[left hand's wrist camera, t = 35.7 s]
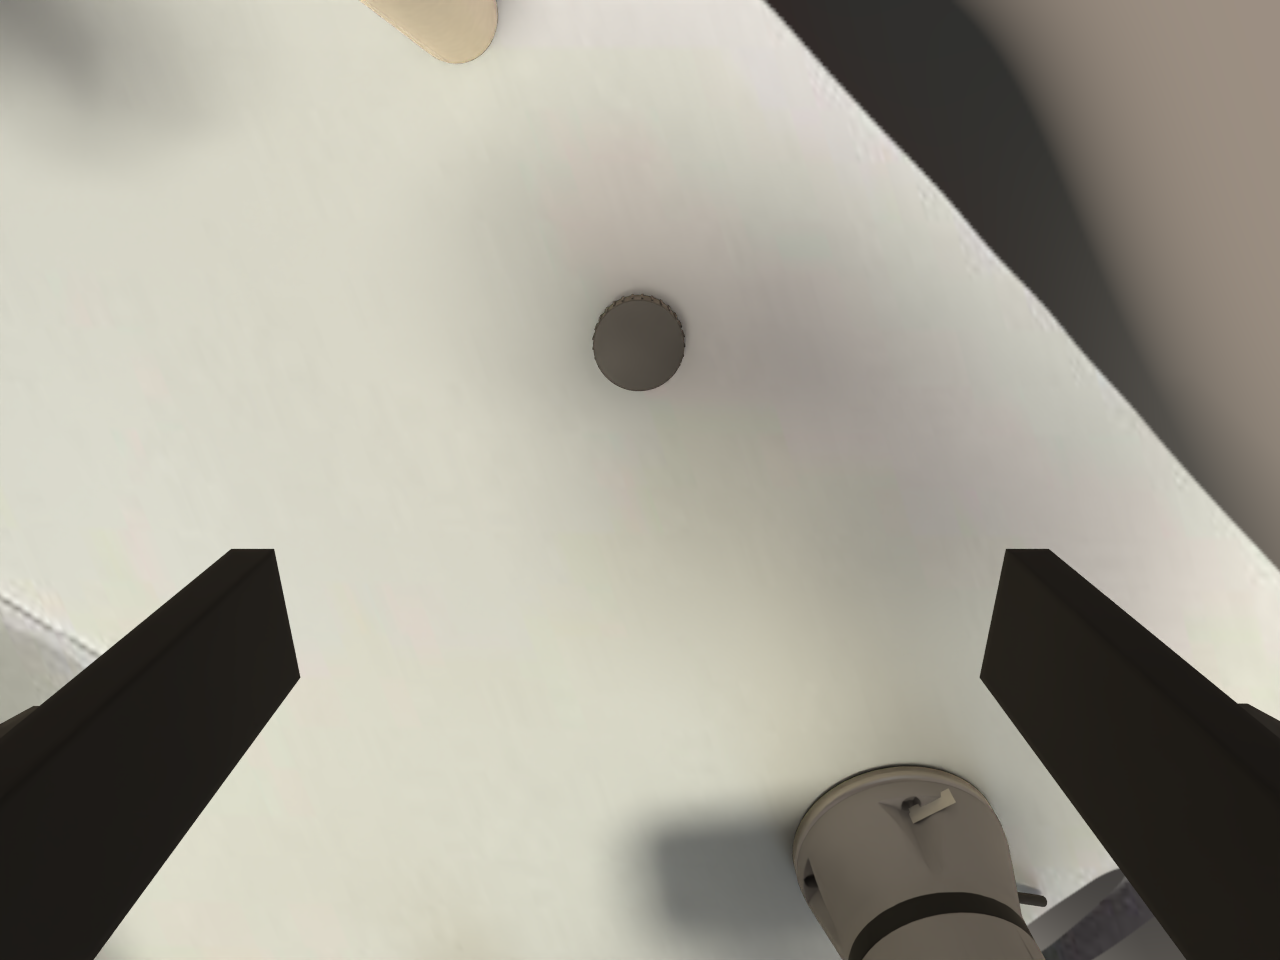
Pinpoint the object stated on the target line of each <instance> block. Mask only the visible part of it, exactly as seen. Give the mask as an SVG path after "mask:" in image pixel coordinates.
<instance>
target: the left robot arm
mask: <svg viewBox="0 0 1280 960" xmlns="http://www.w3.org/2000/svg"><path fill="white" fill-rule="evenodd" d="M299 679H300V673H299V669H298V664H297V659H296V654H295V649H294V644H293V639H292V634H291V629H290V625H289V620H288V615H287V610H286V605H285V600H284V595H283V590H282V585H281V581H280V576H279V571H278V566H277V561H276V556H275V551H274V549H231V550H229V551H228V552H227V553H226V554H225V555H223V556H222V557H221V558H220V559H219V560H217V561H216V562H215V563H214V564H212V565H211V566H210V567H209V568H208V569H206V570H205V571H204V572H203V573H201V574H200V575H199V576H198V577H197V578H195V579H194V580H193V581H192V582H190V583H189V584H188V585H187V586H186V587H184V588H183V589H182V590H181V591H179V592H178V593H177V594H176V595H175V596H173V597H172V598H171V599H170V600H168V601H167V602H166V603H165V604H164V605H162V606H161V607H160V608H159V609H157V610H156V611H155V612H154V613H153V614H151V615H150V616H149V617H148V618H147V619H145V620H144V621H143V622H142V623H140V624H139V625H138V626H137V627H136V628H134V629H133V630H132V631H131V632H129V633H128V634H127V635H126V636H125V637H123V638H122V639H121V640H120V641H118V642H117V643H116V644H115V645H114V646H112V647H111V648H110V649H109V650H107V651H106V652H105V653H104V654H103V655H101V656H100V657H99V658H98V659H96V660H95V661H94V662H93V663H92V664H90V665H89V666H88V667H87V668H85V669H84V670H83V671H82V672H81V673H79V674H78V675H77V676H76V677H74V678H73V679H72V680H71V681H70V682H68V683H67V684H66V685H65V686H64V687H62V688H61V689H60V690H59V691H57V692H56V693H55V694H54V695H53V696H51V697H50V698H49V699H48V700H46V701H45V702H44V703H43V704H42V705H40V706H33V707H31V708H29V709H27V710H25V711H23V712H22V713H20V714H18V715H16V716H14V717H12V718H11V719H9V720H7V721H5V722H3V723H1V724H0V960H94V958H95V957H96V956H97V954H98V953H99V951H100V950H101V949H102V947H103V946H104V945H105V943H106V942H107V941H108V939H109V938H110V936H111V935H112V934H113V932H114V931H115V930H116V928H117V927H118V926H119V924H120V923H121V921H122V920H123V919H124V917H125V916H126V915H127V913H128V912H129V911H130V909H131V908H132V906H133V905H134V904H135V902H136V901H137V900H138V898H139V897H140V896H141V894H142V893H143V891H144V890H145V889H146V887H147V886H148V885H149V883H150V882H151V881H152V879H153V878H154V876H155V875H156V874H157V872H158V871H159V870H160V868H161V867H162V866H163V864H164V863H165V861H166V860H167V859H168V857H169V856H170V855H171V853H172V852H173V851H174V849H175V848H176V846H177V845H178V844H179V842H180V841H181V840H182V838H183V837H184V836H185V834H186V833H187V831H188V830H189V829H190V827H191V826H192V825H193V823H194V822H195V821H196V819H197V818H198V816H199V815H200V814H201V812H202V811H203V810H204V808H205V807H206V806H207V804H208V803H209V801H210V800H211V799H212V797H213V796H214V795H215V793H216V792H217V790H218V789H219V788H220V786H221V785H222V784H223V782H224V781H225V780H226V778H227V777H228V775H229V774H230V773H231V771H232V770H233V769H234V767H235V766H236V765H237V763H238V762H239V760H240V759H241V758H242V756H243V755H244V754H245V752H246V751H247V750H248V748H249V747H250V745H251V744H252V743H253V741H254V740H255V739H256V737H257V736H258V735H259V733H260V732H261V730H262V729H263V728H264V726H265V725H266V724H267V722H268V721H269V720H270V718H271V717H272V715H273V714H274V713H275V711H276V710H277V709H278V707H279V706H280V705H281V703H282V702H283V700H284V699H285V698H286V696H287V695H288V694H289V692H290V691H291V690H292V688H293V687H294V685H295V684H296V683H297V681H298V680H299ZM980 679H981V680H982V681H983V683H984V684H985V685H986V687H987V688H988V690H989V691H990V692H991V694H992V695H993V696H994V698H995V699H996V700H997V702H998V703H999V705H1000V706H1001V707H1002V709H1003V710H1004V711H1005V713H1006V714H1007V715H1008V717H1009V718H1010V720H1011V721H1012V722H1013V724H1014V725H1015V726H1016V728H1017V729H1018V730H1019V732H1020V733H1021V735H1022V736H1023V737H1024V739H1025V740H1026V741H1027V743H1028V744H1029V745H1030V747H1031V748H1032V750H1033V751H1034V752H1035V754H1036V755H1037V756H1038V758H1039V759H1040V760H1041V762H1042V763H1043V765H1044V766H1045V767H1046V769H1047V770H1048V771H1049V773H1050V774H1051V775H1052V777H1053V778H1054V780H1055V781H1056V782H1057V784H1058V785H1059V786H1060V788H1061V789H1062V790H1063V792H1064V793H1065V795H1066V796H1067V797H1068V799H1069V800H1070V801H1071V803H1072V804H1073V806H1074V807H1075V808H1076V810H1077V811H1078V812H1079V814H1080V815H1081V816H1082V818H1083V819H1084V821H1085V822H1086V823H1087V825H1088V826H1089V827H1090V829H1091V830H1092V831H1093V833H1094V834H1095V836H1096V837H1097V838H1098V840H1099V841H1100V842H1101V844H1102V845H1103V846H1104V848H1105V849H1106V851H1107V852H1108V853H1109V855H1110V856H1111V857H1112V859H1113V860H1114V861H1115V863H1116V864H1117V866H1118V867H1119V868H1120V870H1121V871H1122V872H1123V874H1124V875H1125V876H1126V878H1127V879H1128V881H1129V882H1130V883H1131V885H1132V886H1133V887H1134V889H1135V890H1136V891H1137V893H1138V894H1139V896H1140V897H1141V898H1142V900H1143V901H1144V902H1145V904H1146V905H1147V906H1148V908H1149V909H1150V911H1151V912H1152V913H1153V915H1154V916H1155V917H1156V919H1157V920H1158V921H1159V923H1160V924H1161V925H1162V927H1163V928H1164V930H1165V931H1166V932H1167V934H1168V935H1169V936H1170V938H1171V939H1172V941H1173V942H1174V943H1175V945H1176V946H1177V947H1178V949H1179V950H1180V951H1181V953H1182V954H1183V956H1184V957H1185V958H1186V960H1280V721H1279V720H1277V719H1275V718H1273V717H1271V716H1269V715H1268V714H1266V713H1264V712H1262V711H1260V710H1258V709H1256V708H1255V707H1253V706H1251V705H1249V704H1237V703H1236V702H1235V701H1234V700H1232V699H1231V698H1230V697H1229V696H1227V695H1226V694H1225V693H1224V692H1223V691H1221V690H1220V689H1219V688H1218V687H1216V686H1215V685H1214V684H1213V683H1212V682H1210V681H1209V680H1208V679H1207V678H1206V677H1204V676H1203V675H1202V674H1201V673H1199V672H1198V671H1197V670H1196V669H1195V668H1193V667H1192V666H1191V665H1190V664H1188V663H1187V662H1186V661H1185V660H1184V659H1182V658H1181V657H1180V656H1179V655H1177V654H1176V653H1175V652H1174V651H1173V650H1171V649H1170V648H1169V647H1168V646H1166V645H1165V644H1164V643H1163V642H1162V641H1160V640H1159V639H1158V638H1157V637H1155V636H1154V635H1153V634H1152V633H1151V632H1149V631H1148V630H1147V629H1146V628H1144V627H1143V626H1142V625H1141V624H1140V623H1138V622H1137V621H1136V620H1135V619H1133V618H1132V617H1131V616H1130V615H1129V614H1127V613H1126V612H1125V611H1124V610H1123V609H1121V608H1120V607H1119V606H1118V605H1116V604H1115V603H1114V602H1113V601H1112V600H1110V599H1109V598H1108V597H1107V596H1105V595H1104V594H1103V593H1102V592H1101V591H1099V590H1098V589H1097V588H1096V587H1094V586H1093V585H1092V584H1091V583H1090V582H1088V581H1087V580H1086V579H1085V578H1083V577H1082V576H1081V575H1080V574H1079V573H1077V572H1076V571H1075V570H1074V569H1072V568H1071V567H1070V566H1069V565H1068V564H1066V563H1065V562H1064V561H1063V560H1061V559H1060V558H1059V557H1058V556H1057V555H1055V554H1054V553H1053V552H1052V551H1051V550H1049V549H1006V551H1005V556H1004V561H1003V566H1002V571H1001V576H1000V581H999V585H998V590H997V595H996V600H995V605H994V610H993V615H992V620H991V625H990V629H989V634H988V639H987V644H986V649H985V654H984V659H983V664H982V669H981V673H980ZM793 862H794V866H795V871H796V875H797V879H798V883H799V886H800V889H801V891H802V893H803V896H804V898H805V900H806V902H807V904H808V906H809V908H810V909H811V911H812V912H813V914H814V915H815V917H816V919H817V920H818V922H819V923H820V925H821V926H822V928H823V930H824V931H825V933H826V934H827V936H828V937H829V939H830V941H831V942H832V944H833V945H834V947H835V949H836V950H837V952H838V953H839V955H840V956H841V958H842V960H1045V958H1044V956H1043V954H1042V953H1041V951H1040V949H1039V947H1038V946H1037V944H1036V942H1035V940H1034V939H1033V937H1032V935H1031V933H1030V931H1029V929H1028V928H1027V926H1026V924H1025V922H1024V920H1023V918H1022V914H1021V909H1020V904H1027V905H1034V906H1041V907H1045V906H1046V905H1047V900H1046V898H1045V897H1044V896H1041V895H1034V894H1027V893H1021V892H1017V888H1016V882H1015V877H1014V872H1013V866H1012V861H1011V856H1010V850H1009V845H1008V842H1007V839H1006V836H1005V833H1004V831H1003V828H1002V825H1001V823H1000V821H999V820H998V818H997V816H996V814H995V813H994V811H993V809H992V808H991V806H990V804H989V803H988V801H987V800H986V798H985V797H984V796H983V795H982V794H981V793H980V792H979V791H978V790H977V789H976V788H975V787H974V786H972V785H971V784H969V783H968V782H966V781H965V780H963V779H961V778H959V777H957V776H955V775H952V774H950V773H947V772H944V771H941V770H937V769H932V768H926V767H915V766H900V767H890V768H884V769H878V770H874V771H870V772H867V773H864V774H861V775H858V776H856V777H853V778H851V779H849V780H847V781H845V782H843V783H841V784H839V785H838V786H836V787H834V788H833V789H831V790H830V791H829V792H827V793H826V794H825V795H823V796H822V797H821V798H820V799H819V800H818V801H817V802H816V803H815V804H814V805H813V806H812V807H811V808H810V809H809V811H808V812H807V813H806V815H805V816H804V818H803V819H802V821H801V823H800V825H799V827H798V829H797V832H796V835H795V838H794V843H793ZM1019 903H1020V904H1019Z"/></svg>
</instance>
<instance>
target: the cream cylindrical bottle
mask: <svg viewBox="0 0 1280 960" xmlns="http://www.w3.org/2000/svg"><path fill="white" fill-rule="evenodd" d="M359 1H361V2H362V3H363V4H364V5H366V6H367V7H368V8H370V9H371V10H372V11H374V12H375V13H376V14H378V15H379V16H380V17H382V18H383V19H384V20H386V21H387V22H388V23H389V24H391V25H392V26H393V27H395V28H396V29H397V30H399V31H400V32H401V33H403V34H404V35H405V36H407V37H408V38H409V39H410V40H412V41H413V42H414V43H416V44H417V45H418V46H420V47H421V48H422V49H424V50H425V51H426V52H428V53H429V54H430V55H432V56H433V57H435V58H437V59H438V60H441V61H444V62H447V63H455V64H457V63H465V62H469V61H471V60H473V59H475V58H477V57H478V56H480V55H481V54H482V53H483V52H484V51H485V50H486V49H487V47H488V46H489V45H490V43H491V41H492V39H493V37H494V34H495V31H496V27H497V19H498V11H497V4H496V0H359Z"/></svg>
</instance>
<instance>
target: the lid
mask: <svg viewBox="0 0 1280 960" xmlns="http://www.w3.org/2000/svg"><path fill="white" fill-rule="evenodd" d="M681 327H682V325H681V323H680V321H678V320H677V316H676V313H675V312H674V313H673V312H672V310H671V309H670V306H669V305H668V306H667V305H665V304H664V303H663V302H662V300H661V299H660V301H659V300H658V299H655V298H653V296H651V297H649V296H644V295H643V294H641V295H634V294H632V295H631V296H628V297H625V298H624V296H623V297H622V299H620V300H618V301H614V302H613V304H612V305H611V306H610V307H609V308H608V307H607V308H606V310H605V312H604V314H603V315H601V316H600V318H599V323H597V324H596V327H595V330H596V331H595V333H594V336H593V339H592V340H594V341H593V350H594V356H595V359H596V362H597V364H598V367H599V369H600V370H601V372H602V373H603V374H604V375H605V377H606V378H608V379H609V380H610V381H611V382H612V383H614V384H615V385H617V386H619V387H621V388H624V389H627V390H632V391H646V390H650V389H654V388H656V387H659V386H660V385H662V384H664V383H665V382H667V381H668V380H669V379H670V378H671V377H672V376H673V375H674V374H675V372H676V371H677V369H678V368H679V366H680V363H681V361H682V358H683V357H684V354H683V353H684V347H685V343H684V337H685V336H684V333H683V330H681Z"/></svg>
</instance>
